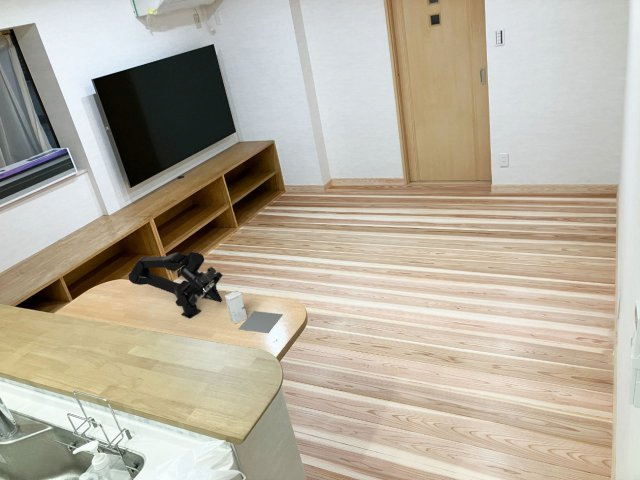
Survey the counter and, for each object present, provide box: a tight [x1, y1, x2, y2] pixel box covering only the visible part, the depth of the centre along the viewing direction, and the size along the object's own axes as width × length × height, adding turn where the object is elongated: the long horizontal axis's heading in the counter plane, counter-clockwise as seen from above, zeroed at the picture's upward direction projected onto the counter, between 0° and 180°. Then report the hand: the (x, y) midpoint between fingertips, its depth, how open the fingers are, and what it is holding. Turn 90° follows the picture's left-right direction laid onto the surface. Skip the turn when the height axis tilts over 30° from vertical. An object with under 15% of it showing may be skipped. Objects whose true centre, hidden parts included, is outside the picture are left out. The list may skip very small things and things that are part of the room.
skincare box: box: [224, 290, 248, 325], centre depth 215 cm, size 6×4×12 cm
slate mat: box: [237, 310, 283, 334], centre depth 213 cm, size 14×13×1 cm
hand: (221, 301), depth 217 cm, fingers closed
